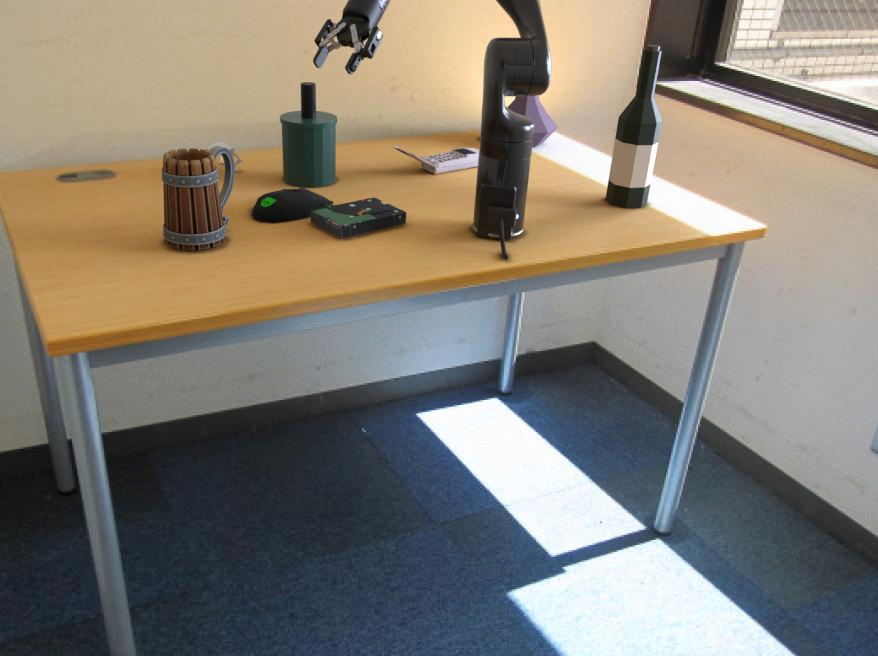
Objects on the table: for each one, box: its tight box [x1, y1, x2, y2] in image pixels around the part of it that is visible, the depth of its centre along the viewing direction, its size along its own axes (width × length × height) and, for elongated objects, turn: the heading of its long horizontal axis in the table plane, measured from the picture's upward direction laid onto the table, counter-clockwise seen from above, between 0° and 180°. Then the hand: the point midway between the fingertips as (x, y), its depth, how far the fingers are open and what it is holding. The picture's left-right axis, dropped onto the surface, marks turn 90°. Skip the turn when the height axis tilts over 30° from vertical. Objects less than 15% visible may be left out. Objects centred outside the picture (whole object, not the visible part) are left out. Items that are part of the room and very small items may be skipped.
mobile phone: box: [393, 145, 479, 175], centre depth 195 cm, size 6×6×25 cm
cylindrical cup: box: [281, 123, 337, 188], centre depth 183 cm, size 11×11×12 cm
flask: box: [506, 95, 559, 148], centre depth 214 cm, size 16×16×20 cm
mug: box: [161, 146, 236, 252], centre depth 151 cm, size 16×11×15 cm
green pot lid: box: [279, 81, 338, 128], centre depth 178 cm, size 12×12×8 cm
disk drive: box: [309, 197, 407, 239], centre depth 163 cm, size 10×3×15 cm
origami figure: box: [205, 141, 244, 173], centre depth 189 cm, size 12×8×5 cm
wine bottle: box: [604, 44, 663, 209], centre depth 173 cm, size 8×8×30 cm
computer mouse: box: [251, 187, 334, 224], centre depth 168 cm, size 11×16×4 cm
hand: (332, 68), depth 180 cm, fingers open, 8 cm apart
